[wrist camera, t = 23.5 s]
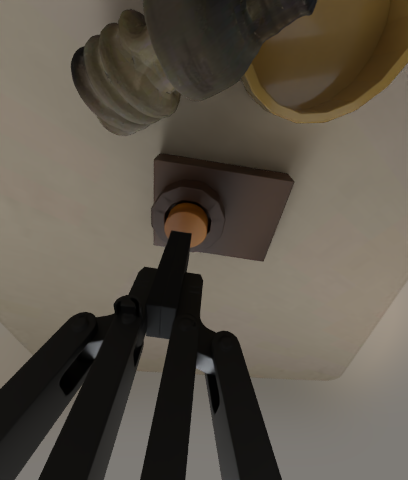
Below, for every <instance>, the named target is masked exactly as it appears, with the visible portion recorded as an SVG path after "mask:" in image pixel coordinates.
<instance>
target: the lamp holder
mask: <svg viewBox="0 0 408 480" xmlns="http://www.w3.org/2000/svg"><path fill="white" fill-rule="evenodd" d="M407 63H408V0H317V3H316V6H315V9H314V11H313V13H312V15H310V16H306V15H305V16H303V17H300V18H298V19H297V20H295V21H294V22H292V23H291V24H290V25H288V26H286V27H285V28H283V29H282V30H281V31H280V32H279V33H278V34H277V35H275V36H273V37H271V38H269V39H268V40H266V41H265V42H264V43H263V44H262V46H261V48H260V50H259V52H258V54H257V55H256V57H255V58H254V59H253V61H252V63H251V64H250V66H249V68H248V70H247V71H246V73H245V74H244V75H243V76H242V77H241V80H242V83H243V85H244V87H245V89H246V91H247V92H248V94H249V95H250V96H251V97H252V98H253V99H254V101H255V102H256V103H258V104H259V105H260V106H261V107H262V108H263V109H264V110H265V111H268V112H270V113H272V114H274V115H277V116H279V117H282V118H284V119H287V120H290V121H292V122H295V123H324V122H328V121H330V120H333V119H335V118H338V117H340V116H343V115H346V114H348V113H351V112H353V111H355V110H357V109H358V108H360V107H361V106H362V105H364V104H365V103H366V102H368V101H369V100H370V99H372V98H373V97H374V96H376V95H377V94H378V93H380V92H381V91H382V90H384V89H385V88H386V87H387V86H388V85H389V84H390V83H391V82H392V81H393V79H394V78H395V77H396V76H397V75H398V74H399V72H400V71H401V70H402V69H403V68H404V66H405V65H406V64H407Z"/></svg>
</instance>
